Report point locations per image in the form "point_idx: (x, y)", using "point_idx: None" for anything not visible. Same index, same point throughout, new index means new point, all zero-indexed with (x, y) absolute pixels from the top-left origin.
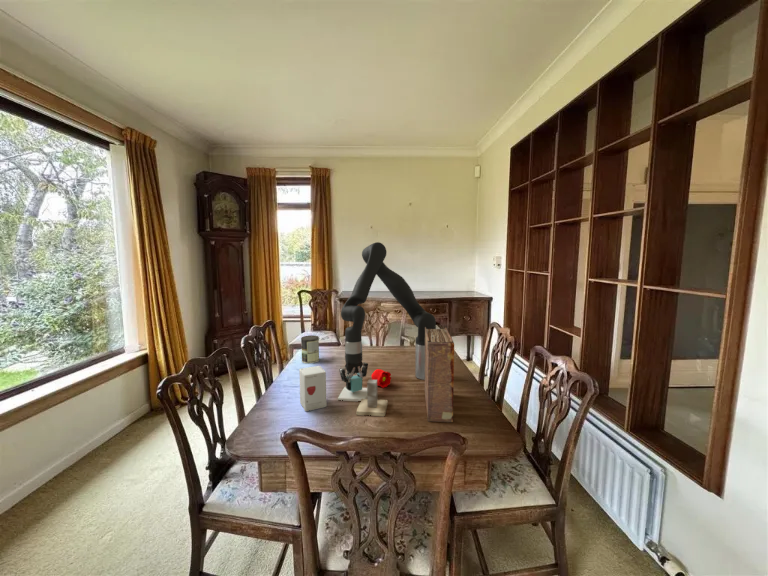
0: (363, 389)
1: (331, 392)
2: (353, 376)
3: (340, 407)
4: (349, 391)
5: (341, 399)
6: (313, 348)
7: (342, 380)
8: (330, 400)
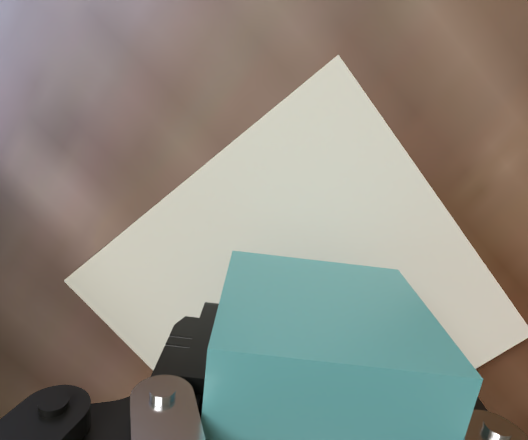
0: (444, 312)
1: (133, 17)
2: (383, 395)
3: (26, 396)
4: (283, 234)
5: (101, 308)
6: None
7: (38, 412)
8: (13, 209)
